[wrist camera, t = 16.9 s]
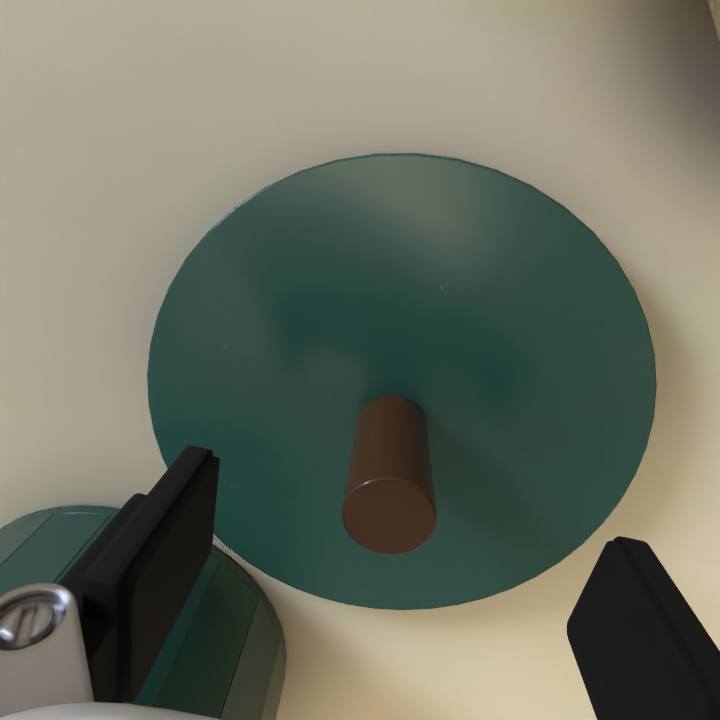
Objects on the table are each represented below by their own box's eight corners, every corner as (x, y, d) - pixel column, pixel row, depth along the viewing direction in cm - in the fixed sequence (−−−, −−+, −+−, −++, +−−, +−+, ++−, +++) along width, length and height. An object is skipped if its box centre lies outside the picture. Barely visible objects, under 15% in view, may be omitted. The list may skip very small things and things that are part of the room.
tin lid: (75, 260, 16) (-93, 304, 11) (593, 60, 13) (738, -24, 8) (270, 618, 22) (227, 771, 16) (668, 539, 19) (783, 695, 13)
